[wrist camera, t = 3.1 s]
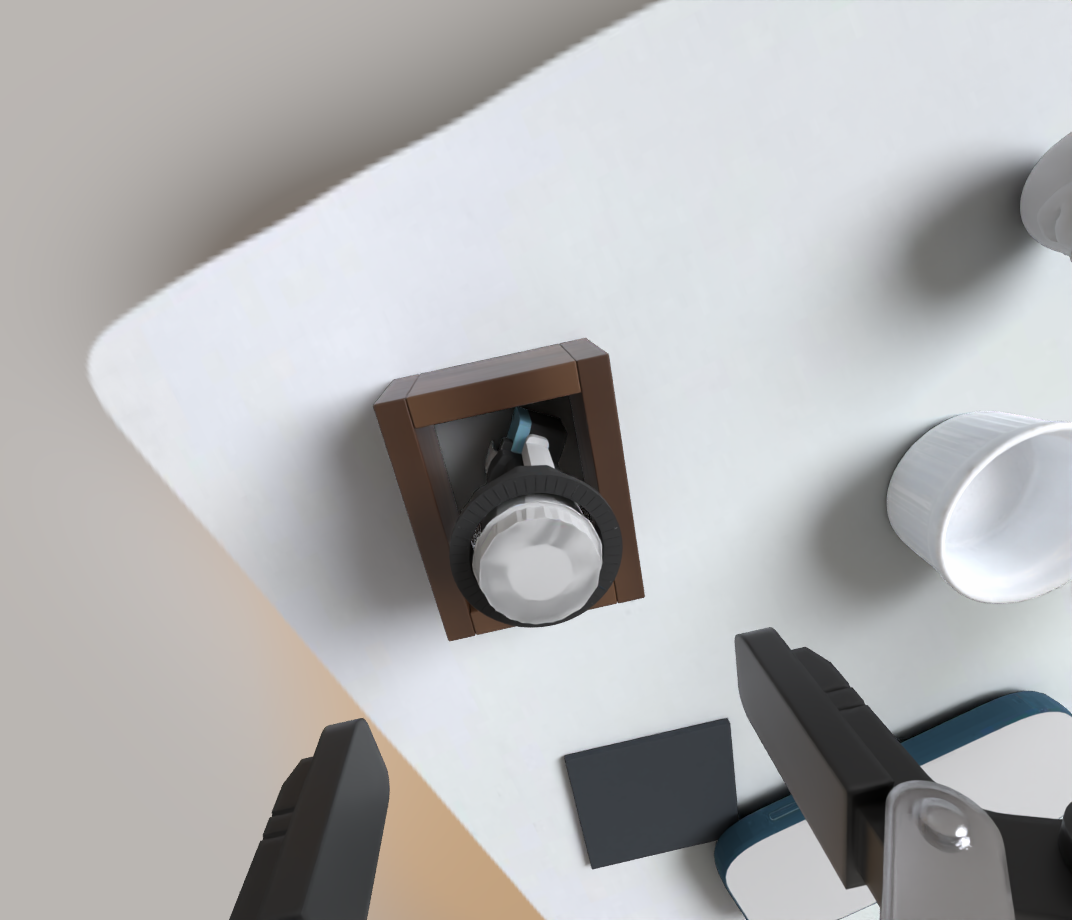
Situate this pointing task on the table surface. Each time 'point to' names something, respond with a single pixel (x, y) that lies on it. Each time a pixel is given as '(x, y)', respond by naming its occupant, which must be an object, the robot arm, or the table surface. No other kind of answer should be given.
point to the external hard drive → (949, 759)
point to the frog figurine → (1050, 199)
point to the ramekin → (989, 504)
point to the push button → (534, 532)
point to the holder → (488, 389)
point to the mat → (655, 793)
